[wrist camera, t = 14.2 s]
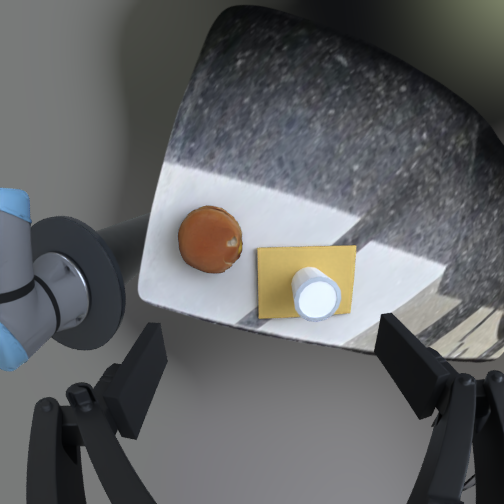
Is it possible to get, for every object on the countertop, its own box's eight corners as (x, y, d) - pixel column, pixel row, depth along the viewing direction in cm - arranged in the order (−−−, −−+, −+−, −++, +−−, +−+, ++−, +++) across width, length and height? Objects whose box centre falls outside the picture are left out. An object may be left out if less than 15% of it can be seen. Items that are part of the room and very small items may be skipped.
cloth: (258, 317, 46) (258, 318, 46) (257, 247, 44) (257, 248, 43) (349, 312, 47) (350, 313, 46) (355, 245, 44) (356, 245, 43)
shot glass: (280, 295, 45) (286, 313, 38) (297, 256, 44) (306, 269, 37) (317, 308, 46) (328, 327, 39) (335, 271, 44) (349, 286, 37)
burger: (172, 219, 42) (164, 223, 38) (228, 196, 42) (225, 197, 37) (197, 276, 44) (191, 286, 40) (251, 256, 44) (252, 264, 39)
